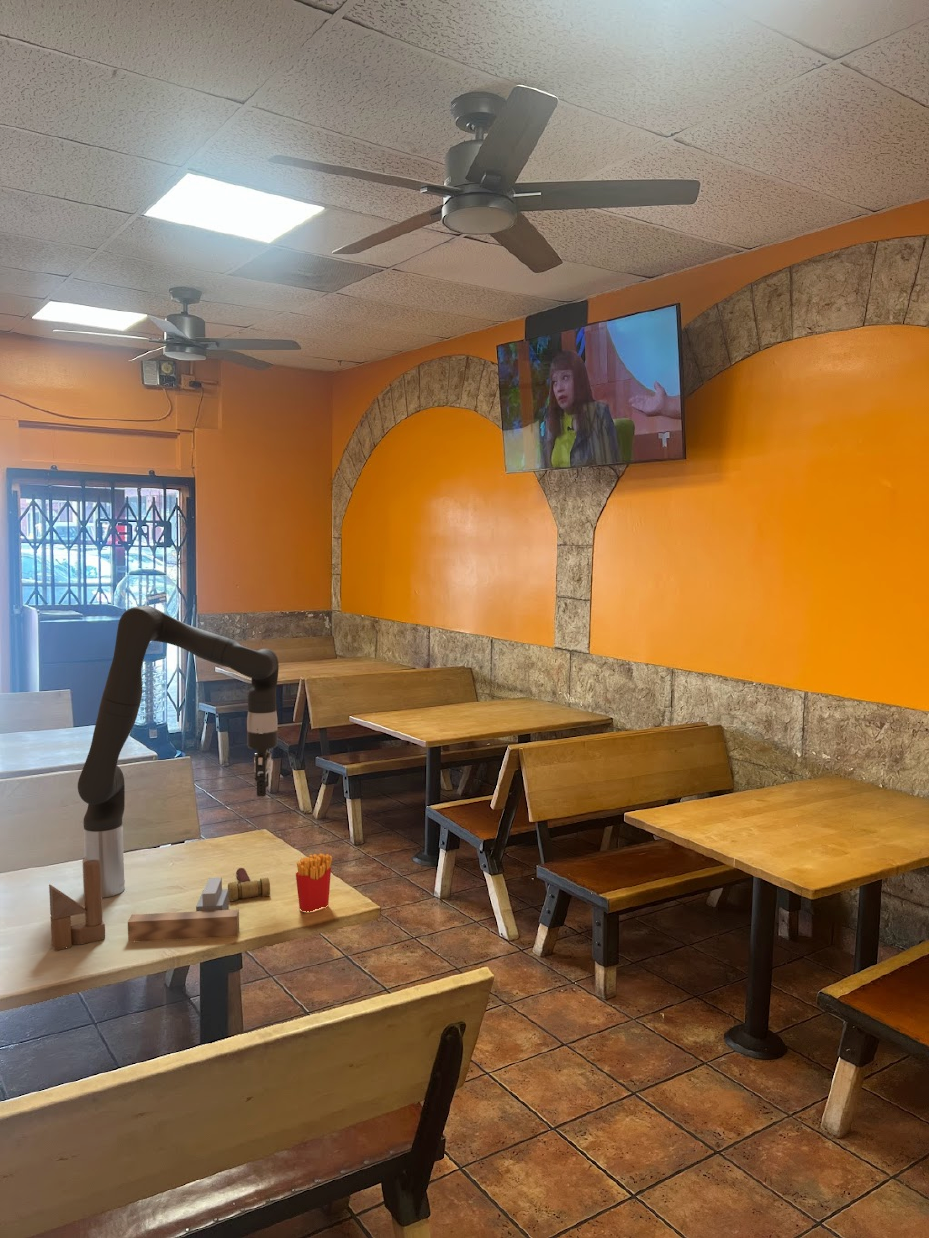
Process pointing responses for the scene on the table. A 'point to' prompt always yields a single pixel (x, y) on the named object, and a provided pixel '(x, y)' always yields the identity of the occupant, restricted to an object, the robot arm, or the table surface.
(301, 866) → the french fries
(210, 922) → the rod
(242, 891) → the gavel
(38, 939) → the table surface
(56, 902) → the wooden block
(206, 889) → the steps
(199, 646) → the robot arm
